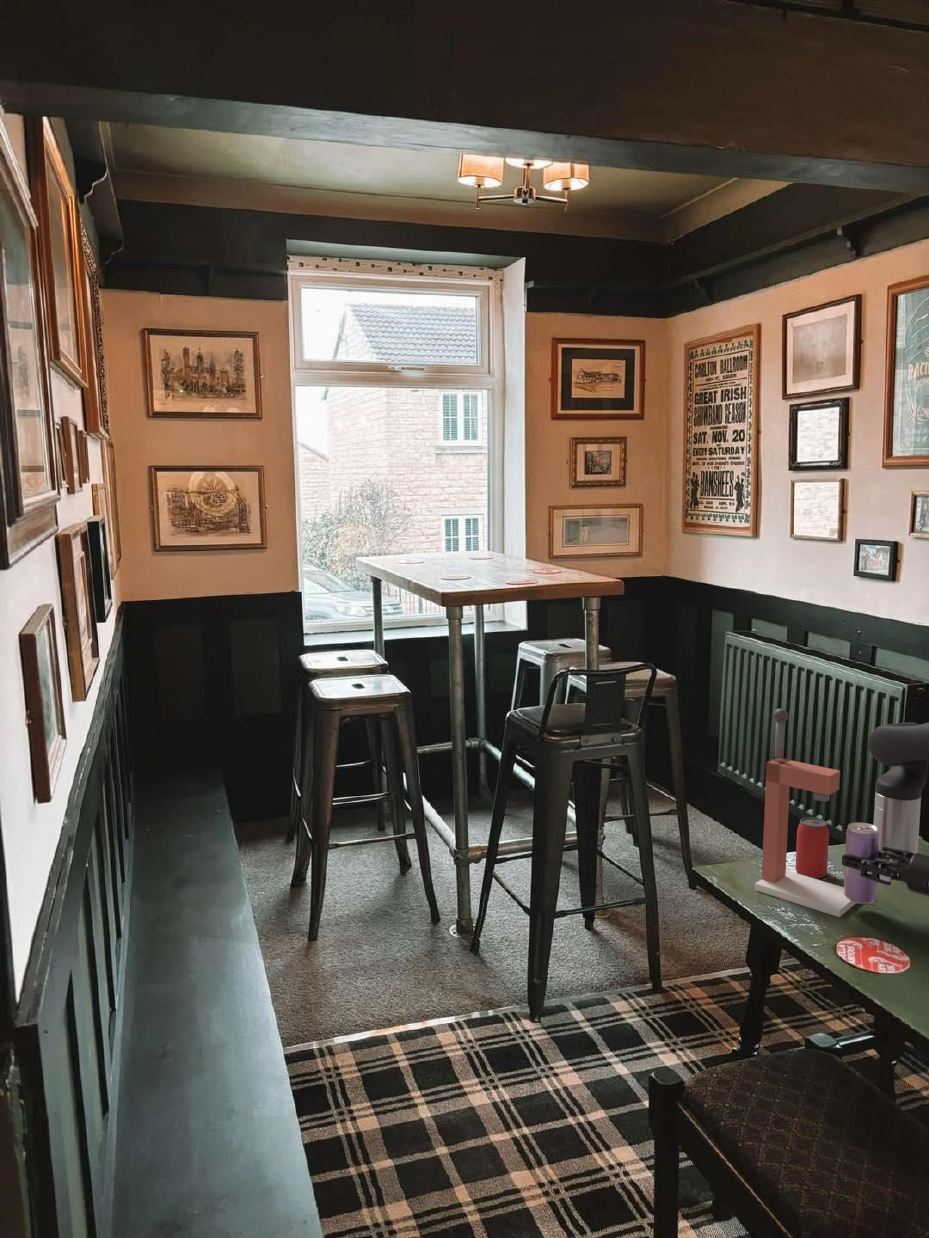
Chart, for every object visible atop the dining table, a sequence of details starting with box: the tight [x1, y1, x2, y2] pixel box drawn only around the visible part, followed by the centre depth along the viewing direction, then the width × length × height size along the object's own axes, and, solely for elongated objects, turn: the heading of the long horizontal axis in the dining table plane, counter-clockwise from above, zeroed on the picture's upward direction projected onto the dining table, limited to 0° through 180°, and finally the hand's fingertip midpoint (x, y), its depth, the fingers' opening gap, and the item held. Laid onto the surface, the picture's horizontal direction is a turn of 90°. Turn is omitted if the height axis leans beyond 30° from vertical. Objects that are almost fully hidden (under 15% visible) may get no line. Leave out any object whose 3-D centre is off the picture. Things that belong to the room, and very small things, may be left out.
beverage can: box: [843, 822, 879, 905], centre depth 182 cm, size 6×6×15 cm
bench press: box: [754, 708, 857, 918], centre depth 188 cm, size 11×18×39 cm, turn 46°
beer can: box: [795, 817, 830, 879], centre depth 200 cm, size 7×7×12 cm
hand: (849, 854), depth 183 cm, fingers closed on beverage can, 6 cm apart
